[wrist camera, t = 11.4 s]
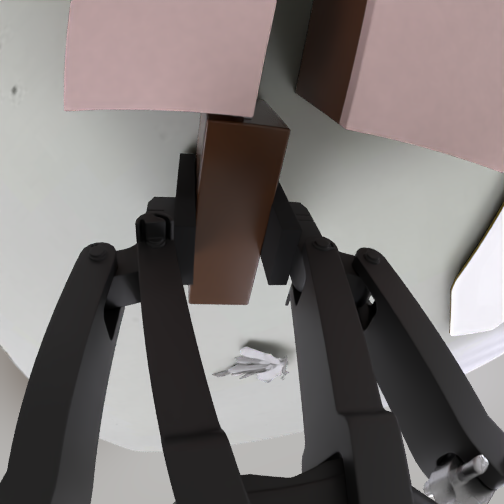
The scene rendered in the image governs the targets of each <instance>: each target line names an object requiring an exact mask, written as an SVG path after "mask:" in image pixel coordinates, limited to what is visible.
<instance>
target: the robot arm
mask: <svg viewBox="0 0 504 504" xmlns="http://www.w3.org/2000/svg"><path fill="white" fill-rule="evenodd" d="M313 221H314V220H313V218H312V217H311V215H310V213H309V211H308V209H307V208H306V207H305V206H303V205H302V204H301V203H299V202H289V201H288V199H287V197H286V195H285V193H284V191H283V189H282V187H281V185H280V183H279V181H278V185H277V189H276V193H275V198H274V202H273V204H272V206H271V211H270V216H269V220H268V225H267V230H266V234H265V238H264V242H263V246H262V250H261V254H260V256H261V259H262V263H263V267H264V270H265V274H266V278H267V281H268V285H286V284H287V281H288V278H289V274H290V277H291V280H292V284H291V287H290V291H289V294H288V297H287V300H286V304H285V305H287V306H288V304H289V301H290V300H291V309H292V317H293V326H294V334H295V343H296V352H297V362H298V371H299V381H300V391H301V401H302V412H303V423H304V433H305V449H304V453H303V456H302V474H299V475H297V476H295V477H291V478H284V477H272V476H261V475H252V474H248V475H240V473H239V470H238V467H237V464H236V461H235V458H234V455H233V452H232V449H231V446H230V443H229V440H228V438H227V436H226V434H225V432H224V431H223V430H222V429H221V427H220V425H219V422H218V419H217V415H216V412H215V408H214V405H213V402H212V398H211V395H210V391H209V387H208V384H207V380H206V377H205V373H204V369H203V365H202V362H201V358H200V354H199V350H198V346H197V342H196V338H195V334H194V330H193V326H192V322H191V318H190V313H189V309H188V305H187V300H186V296H185V292H184V287H183V285H193V276H194V253H195V234H196V207H195V154H183V153H180V160H179V169H178V179H177V190H176V197H154V198H153V199H152V200H151V201H150V202H149V203H148V207H147V211H146V213H145V214H143V215H141V216H140V217H139V218H138V219H137V220H136V223H135V225H136V239H137V244H135V245H134V246H132V247H130V248H127V249H124V250H119V251H116V250H115V248H114V247H113V246H112V245H110V244H108V243H104V242H101V243H94V244H91V245H89V246H87V247H85V248H84V249H83V250H82V252H81V253H80V255H79V257H78V259H77V261H76V263H75V265H74V267H73V269H72V272H71V274H70V276H69V278H68V280H67V282H66V285H65V287H64V289H63V291H62V294H61V296H60V298H59V300H58V303H57V305H56V308H55V310H54V312H53V315H52V317H51V320H50V322H49V325H48V327H47V330H46V333H45V335H44V338H43V341H42V343H41V346H40V349H39V352H38V354H37V357H36V360H35V363H34V366H33V369H32V372H31V375H30V378H29V382H28V385H27V388H26V392H25V395H24V399H23V402H22V406H21V409H20V413H19V417H18V421H17V425H16V429H15V434H14V438H13V443H12V447H11V452H10V458H9V463H8V469H7V472H6V474H5V476H4V477H3V479H2V481H1V483H0V504H90V503H91V497H92V489H93V481H94V471H95V462H96V454H97V445H98V439H99V432H100V425H101V419H102V412H103V407H104V401H105V395H106V390H107V385H108V379H109V374H110V369H111V365H112V360H113V355H114V351H115V346H116V342H117V338H118V333H119V329H120V325H121V321H122V317H123V313H124V309H125V306H127V305H131V304H135V303H139V302H141V309H142V319H143V328H144V337H145V345H146V353H147V360H148V367H149V374H150V380H151V386H152V392H153V398H154V404H155V409H156V415H157V420H158V425H159V430H160V435H161V443H162V448H163V453H164V457H165V461H166V466H167V470H168V474H169V478H170V482H171V486H172V489H173V493H174V497H175V500H176V501H175V502H174V503H173V504H488V503H489V501H490V499H491V497H492V496H493V494H494V492H495V491H496V490H497V489H498V488H500V487H503V486H504V432H503V431H502V430H501V429H500V428H499V427H498V426H497V425H496V424H495V423H494V421H493V420H492V419H491V418H490V417H489V416H488V415H487V413H486V411H485V409H484V407H483V406H482V404H481V402H480V400H479V399H478V397H477V395H476V394H475V392H474V390H473V388H472V386H471V385H470V383H469V381H468V380H467V378H466V376H465V374H464V373H463V371H462V369H461V368H460V366H459V364H458V363H457V361H456V360H455V358H454V356H453V355H452V353H451V352H450V350H449V349H448V347H447V345H446V344H445V342H444V341H443V339H442V338H441V336H440V335H439V333H438V332H437V330H436V329H435V327H434V326H433V324H432V323H431V321H430V320H429V318H428V317H427V315H426V314H425V312H424V311H423V309H422V308H421V307H420V305H419V304H418V302H417V301H416V299H415V298H414V297H413V295H412V294H411V292H410V291H409V290H408V288H407V287H406V285H405V284H404V283H403V281H402V280H401V279H400V277H399V276H398V275H397V273H396V272H395V271H394V269H393V268H392V267H391V265H390V264H389V263H388V261H387V260H386V259H385V257H384V256H383V255H382V254H381V253H379V252H377V251H376V250H374V249H371V248H360V249H359V250H357V252H356V255H355V256H353V255H349V254H345V253H342V252H339V251H338V248H337V246H336V245H335V243H333V242H332V241H331V240H329V239H327V238H325V237H322V235H321V233H320V231H319V230H318V228H317V226H316V224H315V222H313ZM371 295H372V296H373V298H374V300H375V301H374V303H373V304H372V303H371V302H370V301H369V298H370V296H371ZM376 381H377V382H376ZM377 383H378V385H379V387H380V389H381V391H382V393H383V395H384V397H385V399H386V401H387V403H388V405H389V407H390V409H391V411H392V412H389V411H386V410H385V409H384V408H383V406H382V402H381V398H380V394H379V390H378V386H377ZM401 432H402V434H403V437H404V439H405V441H406V443H407V445H408V447H409V450H410V451H411V453H412V455H413V457H414V459H415V461H416V463H417V464H418V466H419V467H420V469H421V470H422V472H423V473H424V474H425V475H426V476H427V477H428V479H429V480H428V481H427V482H426V483H425V485H424V493H425V494H426V495H427V496H434V498H435V501H434V500H432V499H430V498H429V497H427V496H426V495H424V494H423V493H421V492H420V491H418V490H417V489H415V488H414V487H413V486H411V480H410V474H409V469H408V464H407V459H406V454H405V449H404V444H403V440H402V435H401Z"/></svg>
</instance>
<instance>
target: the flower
mask: <svg viewBox="0 0 504 504" xmlns="http://www.w3.org/2000/svg"><path fill="white" fill-rule="evenodd" d="M240 353H241V354H242V355H244V356H245V357H236V358H235V359H236V361H237V362H238V363H240V364H237V365H235V366H234V367H231V368H230V369H228V370H227V371H224V372H220V373H216V374H212V375H214V376H217V377H220V376H226V375H228V374H230V373H232V375H242V374H245V373H248V374H246V375H244V376H242V377H241V378H240V379H242V378H245V377H248V376H250V375H253V374H255V373H258V372H261V371H265V370H268V371H266V372H262V373H258V374H257V378H258V379H259V380H261V381H264V382H268V383H269V382H270V381H271V380H272V379H274V378H275V377H276V376H278V375H280V376H281V372H282V373H284V375H286V374H287V373H289V372H287V371H286V367H287V363H288V361H287V356H286V358H285V357H283V359H281V358H275V357H273V356H272V355H271V354H270V353H269V354H267V353H263V352H260V351H257V350H254V349H252V348H249V347H247V346H245V347H244V348H242V349H241V350H240ZM251 358H254V359H251ZM247 363H253V364H252V365H248V364H247ZM282 366H284V367H282ZM285 373H286V374H285ZM283 377H284V376H282V377H281V379H282V378H283ZM284 379H285V378H284ZM284 379H282V380H284Z"/></svg>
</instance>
